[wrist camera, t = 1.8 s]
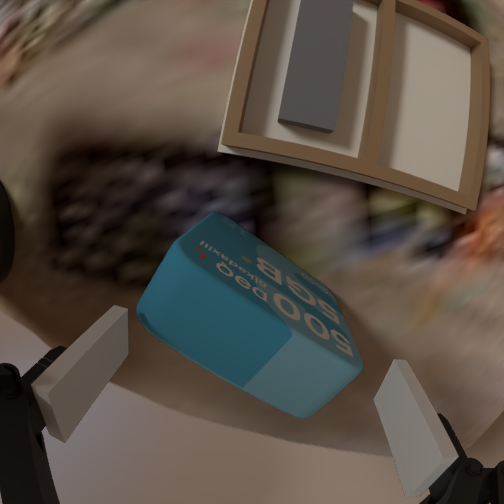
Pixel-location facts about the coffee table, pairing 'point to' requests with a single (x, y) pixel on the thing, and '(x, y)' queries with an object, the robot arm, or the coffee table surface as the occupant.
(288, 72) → the rubber bar
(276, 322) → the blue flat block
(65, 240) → the coffee table surface
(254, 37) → the slot board
